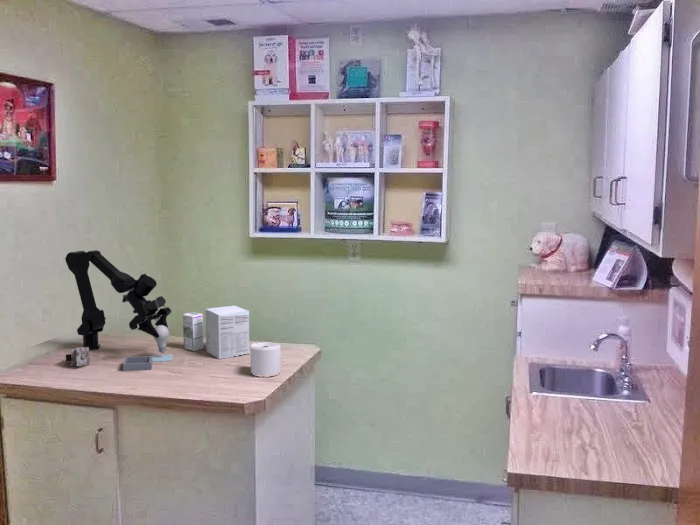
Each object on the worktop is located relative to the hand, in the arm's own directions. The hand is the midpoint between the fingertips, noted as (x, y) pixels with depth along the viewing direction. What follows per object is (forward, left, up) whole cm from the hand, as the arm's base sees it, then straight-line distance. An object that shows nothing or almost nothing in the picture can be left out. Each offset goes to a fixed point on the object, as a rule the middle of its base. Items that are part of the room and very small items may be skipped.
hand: (163, 335), depth 256 cm
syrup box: (-13, +11, -9) cm, 19 cm away
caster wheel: (0, -31, -10) cm, 32 cm away
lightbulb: (-2, -1, -7) cm, 8 cm away
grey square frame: (+8, -9, -9) cm, 15 cm away
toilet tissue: (+25, +35, -9) cm, 44 cm away
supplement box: (-4, +24, -10) cm, 26 cm away
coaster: (-1, -1, -9) cm, 9 cm away
